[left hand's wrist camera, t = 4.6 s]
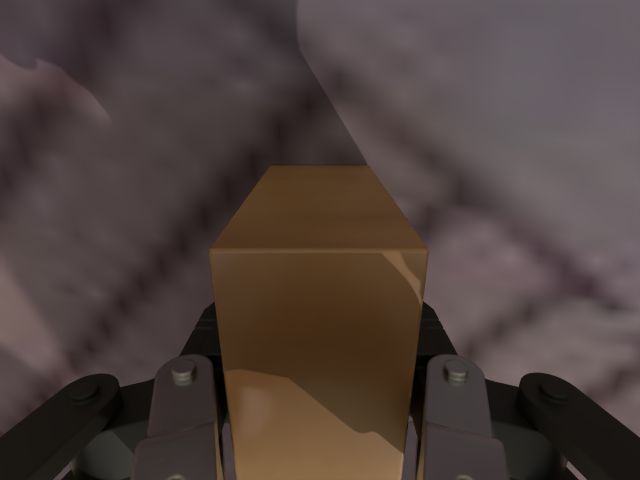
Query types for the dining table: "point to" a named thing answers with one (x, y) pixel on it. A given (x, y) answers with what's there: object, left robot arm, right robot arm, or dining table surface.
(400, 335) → the wooden beam
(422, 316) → the left robot arm
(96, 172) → the dining table surface
